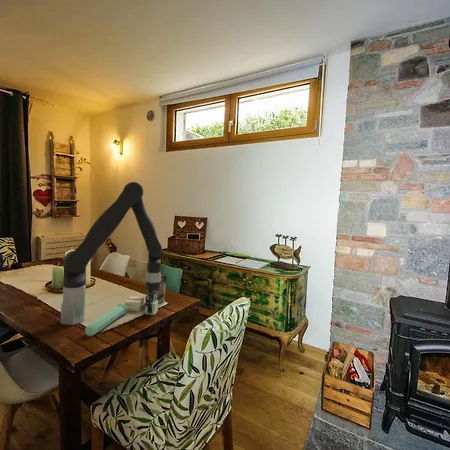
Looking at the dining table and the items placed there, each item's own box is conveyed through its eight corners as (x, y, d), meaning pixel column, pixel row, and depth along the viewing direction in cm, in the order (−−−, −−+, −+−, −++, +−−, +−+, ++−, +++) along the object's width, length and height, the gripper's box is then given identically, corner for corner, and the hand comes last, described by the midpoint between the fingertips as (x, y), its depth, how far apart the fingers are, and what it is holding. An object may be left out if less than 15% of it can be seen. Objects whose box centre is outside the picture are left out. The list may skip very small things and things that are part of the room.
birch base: (139, 311, 142) (139, 302, 142) (124, 310, 142) (124, 301, 142) (143, 305, 150) (144, 297, 150) (129, 304, 150) (129, 296, 150)
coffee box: (152, 305, 151) (154, 278, 150) (145, 302, 155) (147, 275, 153) (165, 301, 158) (166, 275, 157) (158, 298, 162) (159, 272, 161)
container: (91, 324, 112) (125, 302, 137) (80, 327, 114) (115, 304, 138) (96, 337, 112) (128, 313, 137) (84, 340, 114) (119, 315, 138)
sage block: (154, 314, 139) (154, 303, 139) (145, 313, 140) (145, 302, 139) (157, 311, 144) (158, 300, 144) (148, 310, 145) (149, 299, 144)
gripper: (151, 275, 148) (150, 305, 149) (140, 283, 134) (139, 315, 135) (164, 276, 147) (162, 306, 149) (155, 284, 133) (153, 317, 135)
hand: (151, 310), depth 142 cm, fingers closed on sage block, 5 cm apart
